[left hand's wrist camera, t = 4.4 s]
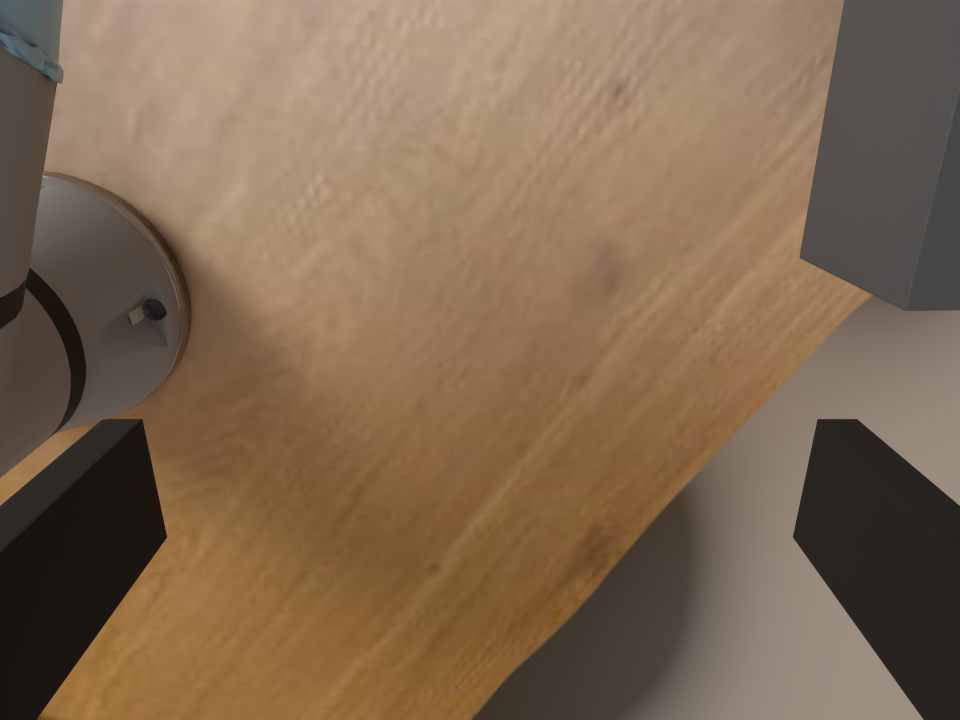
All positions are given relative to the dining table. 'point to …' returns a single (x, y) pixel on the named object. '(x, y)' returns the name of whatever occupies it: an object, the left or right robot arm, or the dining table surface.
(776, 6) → the dining table surface
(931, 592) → the left robot arm
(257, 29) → the dining table surface
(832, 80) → the bar
